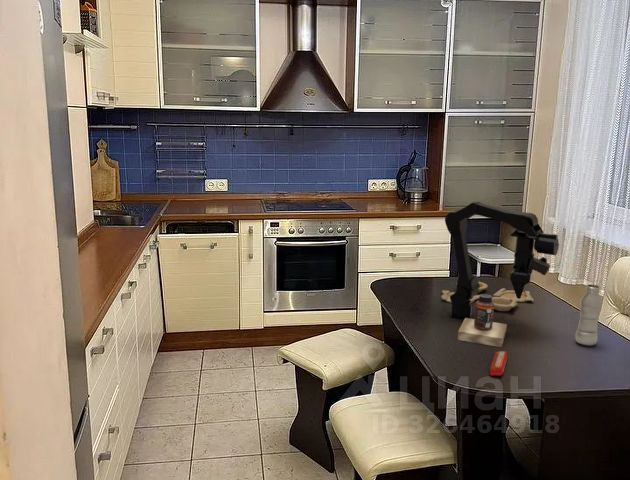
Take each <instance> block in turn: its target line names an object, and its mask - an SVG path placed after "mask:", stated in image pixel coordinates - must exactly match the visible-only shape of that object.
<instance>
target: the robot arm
mask: <svg viewBox="0 0 630 480" xmlns="http://www.w3.org/2000/svg"><path fill="white" fill-rule="evenodd" d="M475 215H477V216H478V215H479V216H481V217H484V218H488V219H491V220H494V221H498V222H502V223H505V224H507V225H508V226H510V227H511V228H513V229H515V230H514V231H513V232H512V233H511V234H509V235H510V236H511V237H514V238H515V250H514V256H513V257H514V259H513V267H512V269H513V270H512V271H511V272H510V276H509V281H510V282H511V286H512V288H513V291H515V294H516V297H517V298H519V299H520V298H521V295H522V292H524V288H525V286H526V285H528V284H529V283H531V279H532V278H531V276H532V273H533V271H535V272H537V273H539V274H541V275H543V276H546V275H547V273H548V271H549V269H550V267H551V265H550V263H549V262H548V259H547V258H546V257H545V256H542V257H541V258H537V257H535V254H534V251H536V253H538V254H545V255H550V256H557V255H558V251H559V248H560V243H559V238H558V237H559V236H558V234H557V233H556V234H554V233H545V232H544V230H543V229H542V227H541V226H540V224H539V219H538V217H537V215H536V214H535V213H532V212H526V211H524V212H523V211H511V210H507V209H504V208H499V207H496V206H493V205H489V204H486V203H482V202H480V201H473V202H470V203H469V204H468V205H467V206H465V207H462V208H461V209H458V210H455V211H451V212H449V213H448V214H446V216H445V217H444V223H445V226H446V229H447V231H448V233H449V234H450V236H451V238H452V244H453V249H454V255H455V262H456V266H457V273H458V275H457V279H456V280H457V281H456V283H457V285H456V292H454V294H453V295H451V296H450V299H451V302H452V303H451V314H450V316H449V317H450V318H451V319H457V320H459V319H460V320H464V319H465V318H471V317H472V312H473V305H472V303H471V300H470V299H472V298H473V296H476V295H478V291H479V288H480V285H479V282H480V281H479V277H478V276H474V274H473V272H472V267H471V266H472V265H471V262H470V261H471V260H470V254H469V250H468V248H469V247H468V242H467V237H466V233H467V228H468V220H469V219H470V218H472V217H473V216H475Z"/></svg>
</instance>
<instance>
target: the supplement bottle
mask: <svg viewBox="0 0 630 480" xmlns="http://www.w3.org/2000/svg"><path fill="white" fill-rule="evenodd" d="M479 295H480V297H479V299H477V301H476V302H475V309H474V318H473V319H474V326H475V327H476V328H477V329H480V330H490V329H491V328H492V324H493V322H494V313H495V311H494V310H495V309H494V303H493V302H492V301H491V300H492V297H493V295H491V294H487V293H482V294H479Z"/></svg>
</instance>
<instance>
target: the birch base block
mask: <svg viewBox="0 0 630 480" xmlns="http://www.w3.org/2000/svg"><path fill="white" fill-rule="evenodd" d="M474 319H475V318H471V317H469V318H465V319H463V320H462V321H463V322H462V323H461V325H460V327H459V329H458V331H457V341H461V342H462V341H463V342H468V343H474V344H480V345H486V346H492V347H498V348H502V347H503V344H504V340H505V338H506V337H505V336H506V333H507V325H508V324H507V323H502V322H494V321H493V324H492V328H491V329H490V330H480V329H477V328H476V327H475V326H474Z"/></svg>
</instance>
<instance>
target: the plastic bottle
mask: <svg viewBox="0 0 630 480" xmlns="http://www.w3.org/2000/svg"><path fill="white" fill-rule="evenodd" d="M585 291H586V292H585V294H583V296H581V298H580V299H579V300H580V301H579V302H580V305H579V307H580V311H579V313H580V314H579V322H578V326H577V329H576V331H575V336H574V337H575V340H576V342H577V343H578V344H580V345H583V346H589V347H590V346H591V347H592V346H594V345H596V344H597V342H598V339H599V337H598V336H599V335H598V323H599V318H600V314H601V310H602V307H603V299H602V297H601V296H600V294H599V293H600V286H599V285H597V284H592V283H591V284H587V285H586V289H585Z"/></svg>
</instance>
